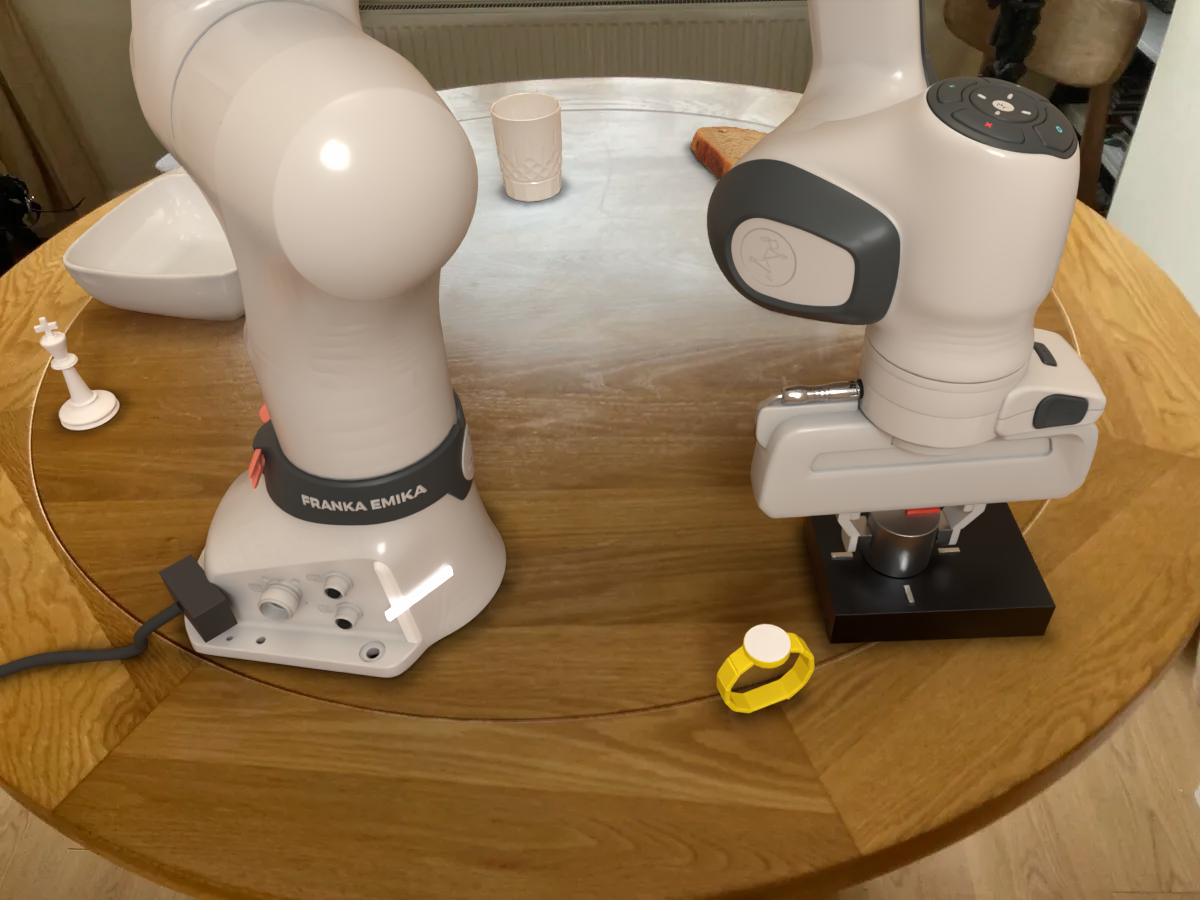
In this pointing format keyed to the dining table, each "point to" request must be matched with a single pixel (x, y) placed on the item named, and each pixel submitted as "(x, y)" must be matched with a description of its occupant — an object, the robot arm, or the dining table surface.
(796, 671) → the watch
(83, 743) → the dining table surface
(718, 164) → the bread slice
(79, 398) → the chess piece
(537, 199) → the white cup
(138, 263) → the bowl
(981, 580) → the black dial panel
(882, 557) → the knob
